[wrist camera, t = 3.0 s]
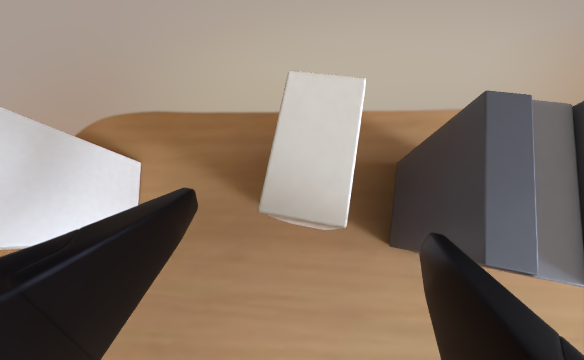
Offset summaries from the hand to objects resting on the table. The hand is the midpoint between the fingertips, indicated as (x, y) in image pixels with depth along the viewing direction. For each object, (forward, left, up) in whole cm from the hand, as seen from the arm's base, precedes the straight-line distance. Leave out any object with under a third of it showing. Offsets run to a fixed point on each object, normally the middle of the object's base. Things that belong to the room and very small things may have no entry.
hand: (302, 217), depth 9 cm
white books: (-10, +15, -10) cm, 20 cm away
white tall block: (+2, +1, -10) cm, 10 cm away
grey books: (+7, -6, -10) cm, 14 cm away
